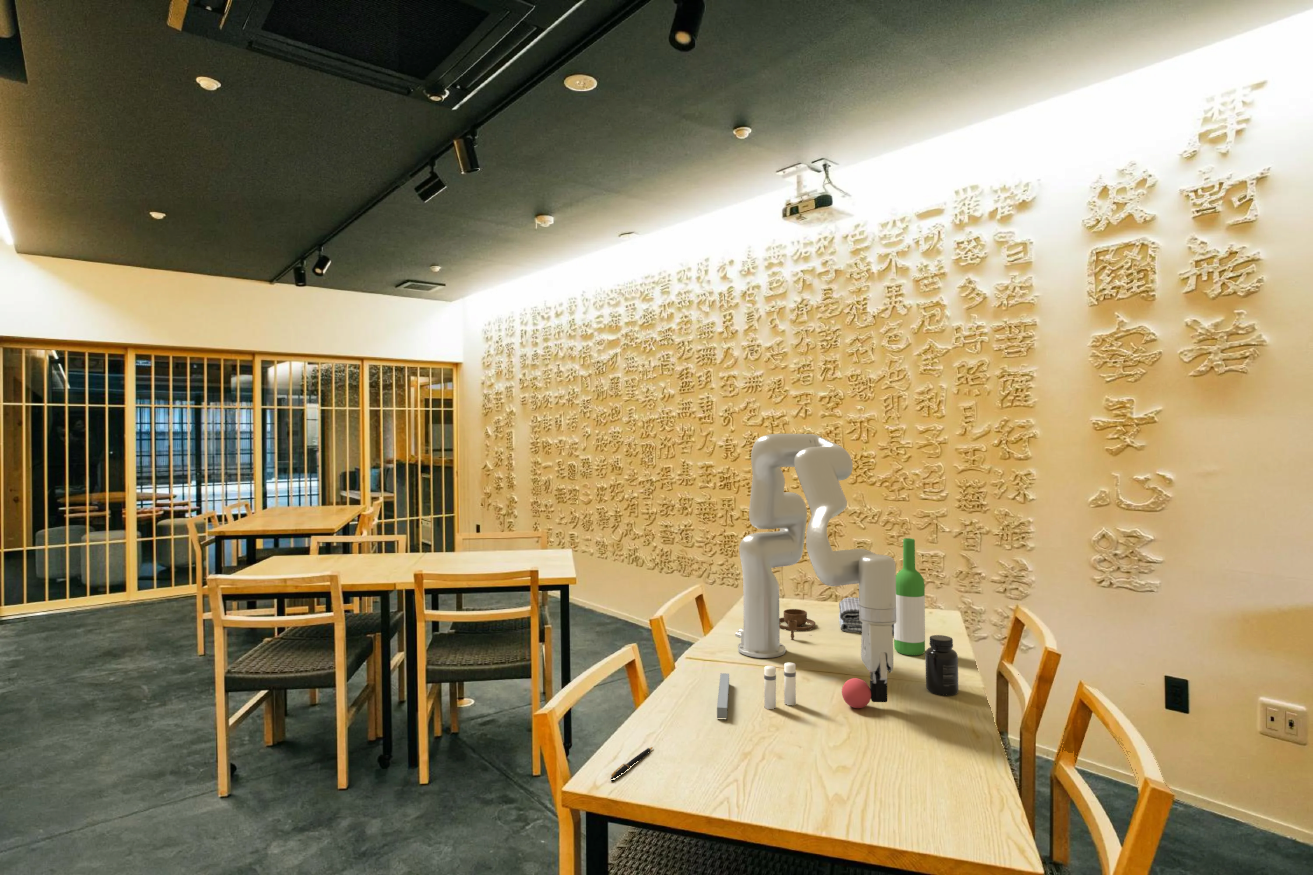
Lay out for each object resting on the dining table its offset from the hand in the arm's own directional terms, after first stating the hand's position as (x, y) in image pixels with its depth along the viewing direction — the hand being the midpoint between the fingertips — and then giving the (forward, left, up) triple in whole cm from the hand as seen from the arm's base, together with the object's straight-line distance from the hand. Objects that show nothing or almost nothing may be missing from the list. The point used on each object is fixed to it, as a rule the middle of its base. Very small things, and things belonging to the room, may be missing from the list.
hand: (878, 700), depth 145 cm
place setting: (-52, +30, -3) cm, 60 cm away
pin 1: (-15, -18, -2) cm, 23 cm away
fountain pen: (-12, -55, -2) cm, 57 cm away
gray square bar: (-23, -23, -2) cm, 33 cm away
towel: (-38, +51, -2) cm, 63 cm away
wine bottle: (-17, +38, -2) cm, 42 cm away
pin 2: (-13, -13, -2) cm, 18 cm away
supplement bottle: (+3, +19, -2) cm, 20 cm away
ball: (-3, -3, +1) cm, 5 cm away
